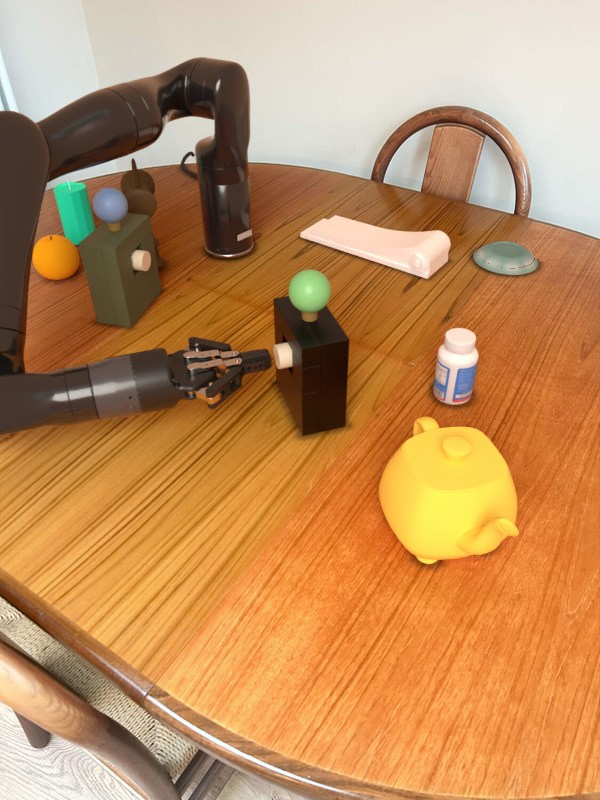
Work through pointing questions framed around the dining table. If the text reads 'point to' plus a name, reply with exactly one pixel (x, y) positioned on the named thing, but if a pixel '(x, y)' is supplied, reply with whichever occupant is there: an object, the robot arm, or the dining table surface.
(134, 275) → the olive block with peg
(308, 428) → the dark block with knob
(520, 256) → the saucer
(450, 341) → the pill bottle
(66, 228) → the candle
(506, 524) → the teapot
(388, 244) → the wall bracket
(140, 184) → the kendama
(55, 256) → the orange fruit
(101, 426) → the dining table surface
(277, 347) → the stubby beige cylinder
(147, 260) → the peach round puck
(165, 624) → the dining table surface
